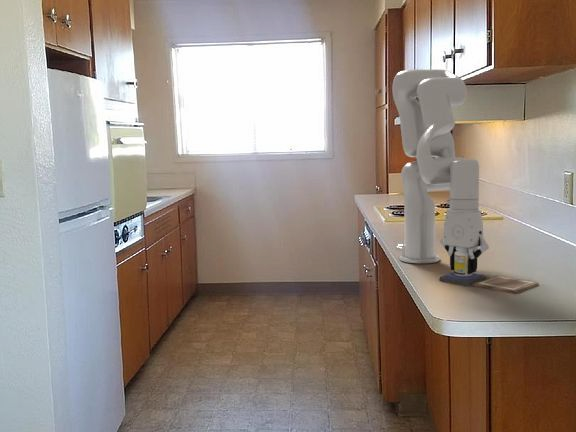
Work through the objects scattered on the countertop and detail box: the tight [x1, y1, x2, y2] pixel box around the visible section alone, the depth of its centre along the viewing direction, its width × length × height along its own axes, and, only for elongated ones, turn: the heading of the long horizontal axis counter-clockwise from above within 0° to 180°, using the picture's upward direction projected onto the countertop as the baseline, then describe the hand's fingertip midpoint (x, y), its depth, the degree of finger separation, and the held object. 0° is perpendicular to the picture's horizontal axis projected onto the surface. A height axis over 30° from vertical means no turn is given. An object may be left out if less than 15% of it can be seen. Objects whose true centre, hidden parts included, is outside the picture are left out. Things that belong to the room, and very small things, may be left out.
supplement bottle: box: [453, 247, 472, 277], centre depth 166 cm, size 5×5×8 cm
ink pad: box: [439, 271, 488, 287], centre depth 167 cm, size 9×9×2 cm
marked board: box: [472, 275, 540, 295], centre depth 161 cm, size 12×12×1 cm
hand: (463, 270), depth 167 cm, fingers closed on supplement bottle, 4 cm apart
